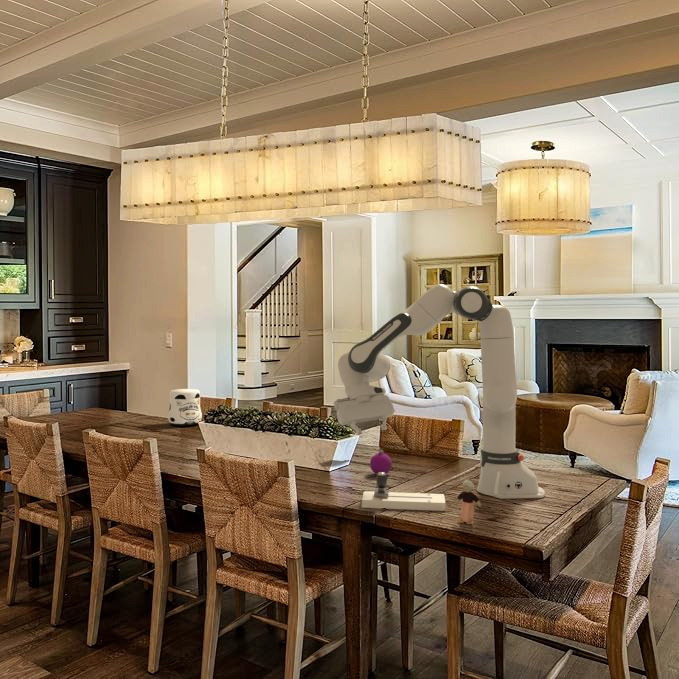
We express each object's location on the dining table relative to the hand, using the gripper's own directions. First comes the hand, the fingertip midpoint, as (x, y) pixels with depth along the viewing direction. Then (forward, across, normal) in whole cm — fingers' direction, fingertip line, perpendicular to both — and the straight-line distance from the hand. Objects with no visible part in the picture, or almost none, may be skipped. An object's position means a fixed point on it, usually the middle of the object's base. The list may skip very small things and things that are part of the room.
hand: (372, 431), depth 234 cm
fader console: (+27, +1, -2) cm, 27 cm away
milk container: (-73, -40, +135) cm, 159 cm away
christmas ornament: (+6, +11, +30) cm, 32 cm away
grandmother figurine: (+41, +10, -20) cm, 47 cm away
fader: (+22, -5, -2) cm, 23 cm away
